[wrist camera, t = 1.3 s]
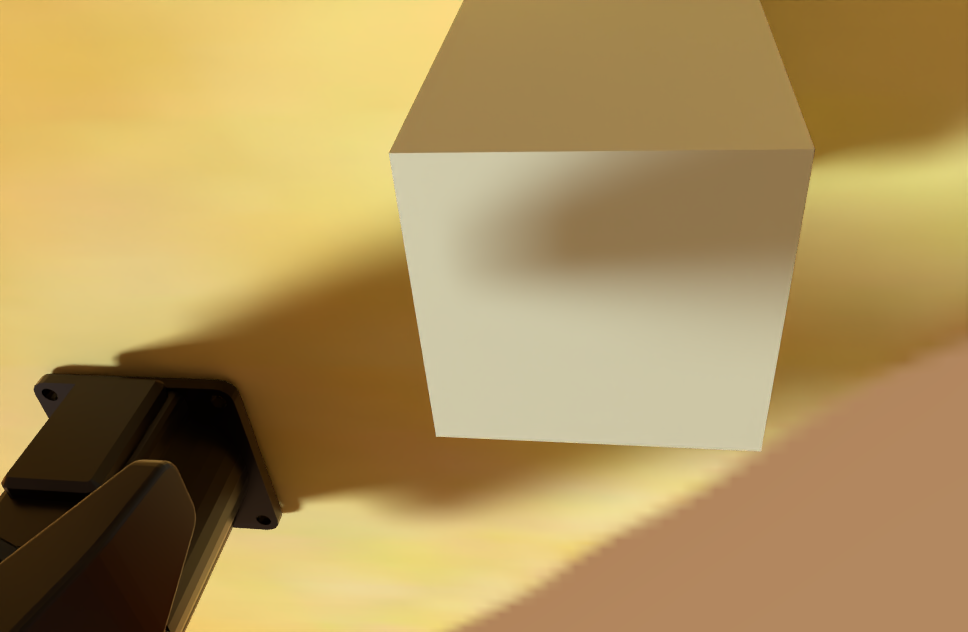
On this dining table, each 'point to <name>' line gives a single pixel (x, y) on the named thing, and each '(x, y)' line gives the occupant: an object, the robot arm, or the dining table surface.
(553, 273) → the cabinet block
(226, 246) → the dining table surface
